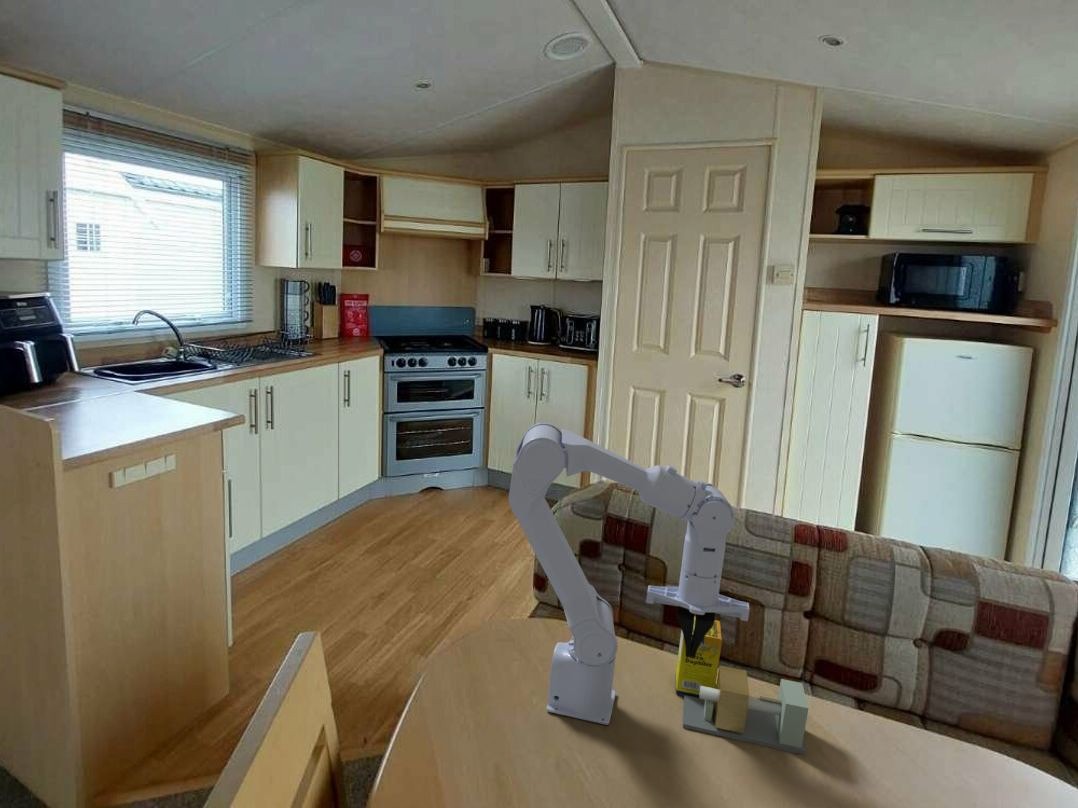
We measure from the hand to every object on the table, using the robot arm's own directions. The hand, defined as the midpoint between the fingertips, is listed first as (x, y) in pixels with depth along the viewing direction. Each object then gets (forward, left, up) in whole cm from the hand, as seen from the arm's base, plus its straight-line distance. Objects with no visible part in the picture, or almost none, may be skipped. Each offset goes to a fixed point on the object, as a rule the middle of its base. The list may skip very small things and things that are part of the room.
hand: (690, 653), depth 97 cm
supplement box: (+2, +7, -10) cm, 12 cm away
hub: (+7, 0, -10) cm, 12 cm away
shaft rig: (+9, 0, -10) cm, 13 cm away
